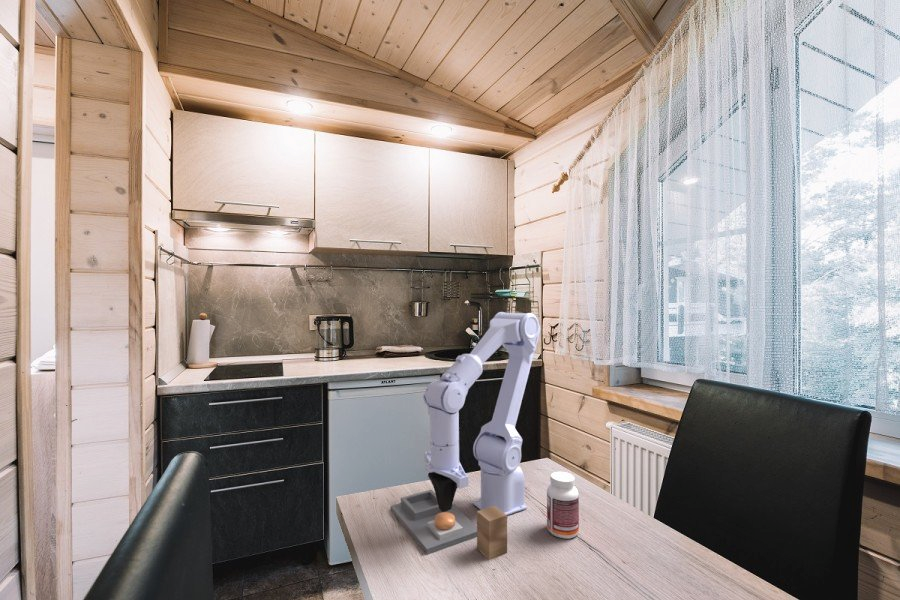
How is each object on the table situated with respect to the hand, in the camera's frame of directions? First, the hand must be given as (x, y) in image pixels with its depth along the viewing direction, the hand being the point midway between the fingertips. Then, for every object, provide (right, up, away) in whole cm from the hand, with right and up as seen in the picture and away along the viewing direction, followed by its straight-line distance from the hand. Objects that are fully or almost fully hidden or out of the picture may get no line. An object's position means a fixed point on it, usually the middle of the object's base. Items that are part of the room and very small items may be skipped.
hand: (445, 509), depth 82 cm
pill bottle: (+24, -5, +1) cm, 24 cm away
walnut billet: (+9, -5, -5) cm, 11 cm away
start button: (0, -3, 0) cm, 3 cm away
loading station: (-3, -5, +4) cm, 7 cm away
